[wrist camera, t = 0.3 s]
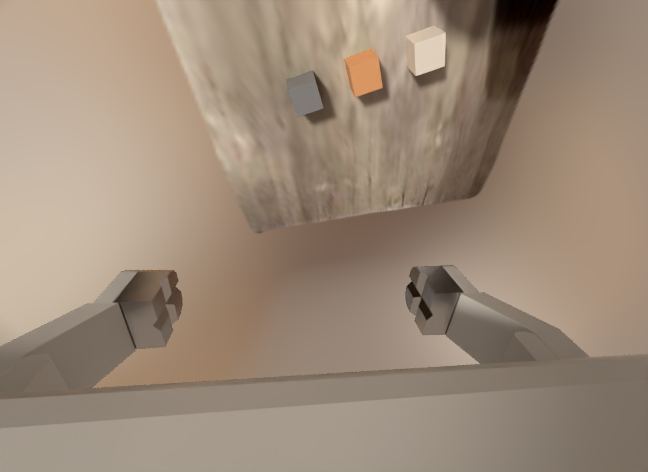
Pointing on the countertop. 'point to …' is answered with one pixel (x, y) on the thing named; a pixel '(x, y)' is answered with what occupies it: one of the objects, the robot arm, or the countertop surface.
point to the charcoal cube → (304, 93)
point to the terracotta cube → (364, 72)
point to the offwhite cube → (425, 50)
